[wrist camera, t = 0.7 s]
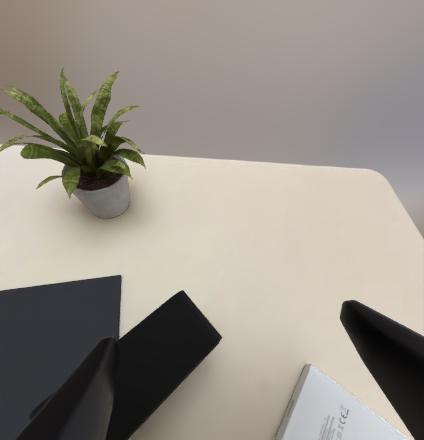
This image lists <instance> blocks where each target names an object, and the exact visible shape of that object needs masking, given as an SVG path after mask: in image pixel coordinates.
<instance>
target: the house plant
mask: <svg viewBox="0 0 424 440" xmlns="http://www.w3.org/2000/svg"><path fill="white" fill-rule="evenodd" d="M117 73H118V72H116V73H114V74H113V75H111V76H110V77H109V78H108V79H107V80H106V81H105V82H104V84H103V85H102V87H101V89H100V91H99V94H98V96H97V99H96V101H95V104H94V106H93V110H92V114H91V132H90V135H89V136H88V132H87V128H86V124H85V120H84V117H83V111H84V109H85V107H86V106H87V104H88V103H89V101H90V100H91V99H92V98H93V96H94V95H95V93H96V92H97V90H96V91H95V92H94V93H93V94H92V95H91V96H90V97H89V98H88V99H87V100H86V101H85V103H84V104H83V106H82V108H81V105H80V102H79V99H78V97H77V95H76V93H75V91H74V89H73V88H72V86H71V85H70V83H69V82H68V81H67V79H66V78H65V77H64V76H63V69H62V72H61V76H60V87H61V93H62V97H63V101H64V105H65V109H66V112H65V113H63V114H62V115H60V116H59V121H60V123H61V124H62V125H61V124H60V123H59V122H58V121H57V120H56V119H55V118H54V117H53V116H52V115H50V113H48V112H47V111H46V110H45V109H44V108H43V107H42V105H41V104H39V103H38V102H37V101H36V100H35V99H34V98H33V97H32V96H30V95H28V94H27V93H25V92H23V91H21V90H18V89H17V88H14V87H10V86H8V87H10V88H12V89H13V90H15V91H17V92H19V93H20V94H21V95H23V96H24V97H26V98H27V99H26V98H24V97H22V96H20V95H18V94H16V93H14V92H9V91H7V90H4V91H6V92H7V93H9V94H10V95H11V96H12V97H13V98H15V99H16V100H18V101H20V102H22V103H23V104H24V105H25V106H26V107H27V108H28V109H29V110H30V111H31V112H33V113H34V114H35V115H37V116H38V117H40V118H41V119H42V120H44V121H45V122H46V123H47V124H49V125H50V126H51V127H52V129H53V130H54V131H56V133H57V134H58V135H59V136H60V137H61V138H62V139H63V140H64V141H65V142H66V143H67V145H66V144H64V143H62V142H61V141H59V140H56V139H54V138H52V137H51V136H49V135H48V134H46V133H44V132H42V131H41V130H39V129H37V128H36V127H34V126H32V125H31V124H29V123H27V122H26V121H24V120H22V119H21V118H19V117H17V116H15V115H13V114H11V113H10V112H7V111H5V110H2V109H0V114H3V115H5V116H8V117H9V118H11V119H13V120H15V121H17V122H19V123H20V124H22V125H24V126H26V127H27V128H29V129H31V130H33V131H35V132H37V133H39V134H41V135H42V136H36V135H34V136H33V137H37V138H41V139H44V140H47V141H49V142H52V143H54V144H56V145H58V146H60V147H61V148H63V149H65V150H66V151H68V152H69V153H68V152H65V151H62V150H57V149H53V148H50V147H47V146H44V145H40V144H33V143H24V144H29V145H27V146H25V147H24V148H23V150H22V151H21V156H22V157H23V158H26V159H39V158H47V159H53V160H56V161H59V162H62V163H64V164H65V166H64V168H63V170H62V176H50V177H48V178H46V179H45V180H44V181H42V182H41V183H40V184H39V185H38V187H37V188H39V187H41V186H42V185H44V184H45V183H47V182H48V181H50V180H53V179H55V178H59V177H62V182H63V185H64V187H65V189H66V191H67V193H68V195H69V197H71V194H72V192H73V193H74V194H75V195H76V196H77V197H78V198H79V199H80V200H81V201H82V203H83V204H84V205H85V206H86V207H87V208H88V209H89V210H90V211H91V212H92V213H93V214H94V215H96V216H97V217H100V218H113V217H116V216H119V215H120V214H122V213H123V212H124V211H125V210H126V209H127V208H128V206H129V187H128V176H129V177H130V178H132V177H131V175H130V170H129V167H128V165H127V163H126V162H125V160H124V158H126V159H128V160H131V161H133V162H136V163H139V164H141V165H143V166H144V167H145V165H144V162H143V159H142V157H141V156H140V155H139V154H138V153H137V152H135V151H133V150H129V149H118V150H117V151H115V150H116V149H117V148H118V146H119V145H120V144H121V143H124V142H127V143H129V144H130V145H131V146H133V147H134V148H136V149H137V150H138V151H140V152H142V151H141V150H140V149H139V148H137V146H136V145H135V144H134V143H133V142H132V141H130V140H129V139H127V138H124V137H118V136H115V134H116V133H117V131H118V129H119V127H120V125H122V123H123V122H115V123H114V121H115V120H116V119H117V118H118V117H119V116H120V115H121V114H123V113H125V112H127V111H129V110H131V109H133V108H136V107H138V106H129V107H126V108H123V109H121V110H120V111H119V112H118V113H117V114H116V115H115V116H114V117H113V118H112V119H111V120H110V122H109V123H108V125H106V126H104V127H102V124H103V120H104V115H105V112H106V109H107V106H108V104H109V102H110V98H111V86H112V84H113V82H114V80H115V79H116V76H117ZM64 83H65V85H66V88H67V94H68V98H69V101H70V103H71V106H72V108H73V112H74V115H75V120H76V122H75V120H74V118H73V116H72V113H71V109H70V105H69V102H68V100H67V96H66V93H65V89H64ZM124 122H125V121H124ZM126 122H127V121H126ZM76 124H77V125H76ZM107 129H108V130H107ZM104 130H105V131H106V130H107V132H106V135H105V139H104V142H103V140H102V138H101V134H102V132H103V131H104ZM104 133H105V132H104ZM24 137H27V136H20V137H15V138H14V139H12V140H10V141H8V142H6V143H5V144H4V145H2V146H1V147H0V152H1V151H2V150H4V149H5V148H7V147H10V146H12V145H15V144H20V143H13V142H15V141H17V140H19V139H22V138H24ZM11 143H13V144H11ZM9 144H10V145H9ZM99 145H102V146H101V147H100V150H99ZM114 151H115V152H114ZM142 153H143V152H142ZM143 154H144V153H143ZM121 156H122V157H121ZM123 157H124V158H123Z"/></svg>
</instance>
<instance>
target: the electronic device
mask: <svg viewBox="0 0 424 440" xmlns="http://www.w3.org/2000/svg"><path fill="white" fill-rule="evenodd" d="M221 338H222V337H221V335H220V334H219V333H218V332H217V331H216V329H215V328H214V327H213V326H212V325H211V323H210V322H209V321H208V320H207V319H206V317H205V316H204V315H203V314H202V312H201V311H200V310H199V309H198V308H197V306H196V305H195V304H194V303H193V302H192V300H191V299H190V298H189V297H188V296H187V294H186V293H185V292H184V291H183V290H182V291H180V292H178V293H177V294H175V295H174V296H172V297H171V298H170V299H169V300H167V301H166V302H165V303H164V304H162V305H161V306H160V307H159V308H158V309H156V310H155V311H154V312H153V313H151V314H150V315H149V316H148V317H146V318H145V319H144V320H143V321H141V322H140V323H139V324H138V325H137V326H135V327H134V328H133V329H132V330H130V331H129V332H128V333H127V334H125V335H124V336H123V337H122V338H120V339H119V340H118V341H117V342H116V343H117V346H118V349H119V353H120V358H119V365H118V372H117V380H116V387H115V394H114V401H113V407H112V411H111V416H110V420H109V424H108V429H107V433H106V437H105V440H128V439H129V438H130V437H131V435H132V434H133V433H134V432H135V431H136V430H137V429H138V428H139V427H140V426H141V425H142V424H143V423H144V422H145V421H146V420H147V419H148V418H149V417H150V415H151V414H152V413H153V412H154V411H155V410H156V409H157V408H158V407H159V406H160V405H161V404H162V403H163V402H164V401H165V400H166V399H167V398H168V396H169V395H170V394H171V393H172V392H173V391H174V390H175V389H176V388H177V387H178V386H179V385H180V384H181V383H182V382H183V381H184V380H185V379H186V377H187V376H188V375H189V374H190V373H191V372H192V371H193V370H194V369H195V368H196V367H197V366H198V365H199V364H200V363H201V362H202V361H203V360H204V358H205V357H206V356H207V355H208V354H209V353H210V352H211V351H212V350H213V349H214V348H215V347H216V346H217V345H218V344H219V342H220V340H221ZM57 390H58V389H57ZM57 390H56V391H57ZM56 391H55V392H56ZM55 392H54V393H55ZM54 393H53V394H54ZM53 394H51V395H50V396H49V397H48V398H46V399H45V400H44V401H43V402H42V403H41V404H39V405H38V406H37V407H36V408H35V409H34V410H33V411H32V412H31V413H30V415H29V418H30V421H31V420H32V419H33V417H34V416H35V415H36V414H37V413H38V412H39V410H40V409H41V408H42V407H43V406H44V405H45V403H46V402H47V401H48V400H49V399H50V398H51V396H52V395H53Z"/></svg>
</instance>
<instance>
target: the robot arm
mask: <svg viewBox="0 0 424 440" xmlns="http://www.w3.org/2000/svg"><path fill="white" fill-rule="evenodd" d="M340 319H341V322H342V324H343V326H344V328H345V330H346V332H347V333H348V335H349V337H350V339H351V341H352V343H353V344H354V346H355V348H356V350H357V352H358V354H359V355H360V357H361V359H362V361H363V362H364V364H365V365H366V367H367V368H368V370H369V371H370V373H371V374H372V376H373V377H374V379H375V380H376V382H377V383H378V385H379V386H380V388H381V389H382V391H383V392H384V394H385V395H386V397H387V398H388V400H389V401H390V403H391V404H392V406H393V407H394V409H395V410H396V412H397V413H398V415H399V417H400V418H401V420H402V421H403V423H404V424H405V426H406V427H407V429H408V430H409V432H410V433H411V435H412V436H413V438H414V439H415V440H424V336H422V335H420V334H419V333H417V332H415V331H413V330H411V329H409V328H407V327H405V326H403V325H401V324H399V323H398V322H396V321H394V320H392V319H390V318H388V317H386V316H384V315H382V314H380V313H379V312H377V311H375V310H373V309H371V308H369V307H367V306H365V305H363V304H361V303H360V302H358V301H355V300H349V301H344V302H343V304H342V309H341V314H340ZM119 358H120V353H119V349H118V346H117V343H116V340H115V338H114V337H113V336H110V337H104V338H102V339H101V340H100V341H99V342H98V343H97V344H96V345H95V346H94V348H93V349H92V350H91V351H90V352H89V353H88V355H87V356H86V357H85V358H84V359H83V360H82V362H81V363H80V364H79V365H78V366H77V367H76V369H75V370H74V371H73V372H72V373H71V374H70V376H69V377H68V378H67V379H66V380H65V381H64V383H63V384H62V385H61V386H60V387H59V388H58V390H57V391H56V392H55V393H54V394H53V395H52V396H51V398H50V399H49V400H48V401H47V402H46V403H45V405H44V406H43V407H42V408H41V409H40V410H39V412H38V413H37V414H36V415H35V416H34V417H33V419H32V420H31V421H30V422H29V423H28V424H27V426H26V427H25V428H24V429H23V430H22V431H21V433H20V434H19V435H18V436H17V437H16V438H15V440H105V437H106V433H107V429H108V424H109V420H110V416H111V411H112V407H113V401H114V394H115V387H116V380H117V372H118V365H119Z"/></svg>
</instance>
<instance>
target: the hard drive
mask: <svg viewBox="0 0 424 440" xmlns="http://www.w3.org/2000/svg"><path fill="white" fill-rule="evenodd" d="M274 440H410V439H409V438H407V437H406V436H405V435H403V434H402V433H401V432H399V431H398V430H397V429H395V428H394V427H393V426H392V425H390V424H389V423H388V422H386V421H385V420H384V419H382V418H381V417H380V416H378V415H377V414H376V413H375V412H373V411H372V410H371V409H369V408H368V407H367V406H365V405H364V404H363V403H362V402H360V401H359V400H358V399H356V398H355V397H354V396H352V395H351V394H350V393H349V392H347V391H346V390H345V389H343V388H342V387H341V386H339V385H338V384H337V383H335V382H334V381H333V380H332V379H330V378H329V377H328V376H326V375H325V374H324V373H322V372H321V371H320V370H318V369H317V368H316V367H315V366H313V365H312V364H306V366H305V367H304V369H303V372H302V374H301V376H300V379H299V381H298V384H297V386H296V388H295V391H294V393H293V396H292V398H291V401H290V403H289V405H288V408H287V410H286V413H285V415H284V417H283V420H282V422H281V425H280V427H279V430H278V432H277V435H276V437H275V439H274Z"/></svg>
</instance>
